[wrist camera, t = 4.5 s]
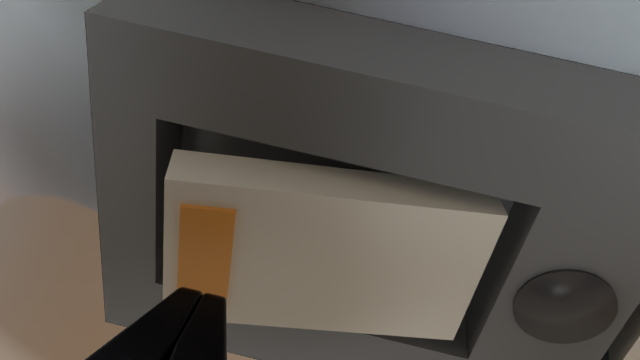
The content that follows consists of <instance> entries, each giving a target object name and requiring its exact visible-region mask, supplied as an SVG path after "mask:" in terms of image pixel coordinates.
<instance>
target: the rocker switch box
mask: <svg viewBox="0 0 640 360" xmlns="http://www.w3.org/2000/svg"><path fill="white" fill-rule="evenodd" d="M84 13H85V28H86V42H87V57H88V72H89V87H90V101H91V116H92V131H93V146H94V160H95V175H96V190H97V205H98V219H99V234H100V249H101V264H102V278H103V291H104V308H105V322H108V323H113V324H116V325H120V326H125V327H128V326H130V325H131V324H132V323H134V322H135V321H136V320H138V319H139V318H140V317H141V316H143V315H144V314H145V313H147V312H148V311H149V310H151V309H152V308H153V307H155V306H156V305H157V304H158V303H160V302H161V301H162V300H163V240H164V179H165V176H166V172H167V169H168V166H169V163H170V159H171V156H172V153H173V150H174V149H178V150H187V151H196V152H205V153H213V154H222V155H231V156H240V157H248V158H257V159H266V160H275V161H284V162H292V163H301V164H310V165H319V166H328V167H336V168H345V169H354V170H363V171H372V172H380V173H389V174H398V175H403V176H407V177H411V178H416V179H420V180H424V181H429V182H433V183H437V184H442V185H446V186H450V187H455V188H459V189H463V190H468V191H472V192H476V193H481V194H485V195H489V196H494V197H498V198H500V200H501V202H502V204H503V206H504V208H505V210H506V212H507V214H508V218H507V220H506V223H505V225H504V227H503V229H502V232H501V234H500V236H499V238H498V241H497V243H496V245H495V247H494V250H493V252H492V254H491V256H490V259H489V261H488V263H487V265H486V268H485V270H484V272H483V274H482V277H481V279H480V281H479V283H478V286H477V288H476V290H475V292H474V295H473V297H472V299H471V301H470V304H469V306H468V308H467V310H466V313H465V315H464V317H463V319H462V321H461V324H460V326H459V328H458V330H457V333H456V335H455V337H454V339H453V340H442V339H429V338H416V337H403V336H390V335H377V334H364V333H351V332H338V331H325V330H312V329H299V328H286V327H273V326H260V325H247V324H234V323H227V352H229V353H233V354H237V355H241V356H246V357H249V358H253V359H257V360H609V355H608V348H609V347H610V345H611V344H612V342H613V341H614V339H615V338H616V337H617V335H618V334H619V332H620V331H621V329H622V328H623V326H624V325H625V323H626V322H627V320H628V319H629V318H630V316H631V315H632V313H633V312H634V310H635V309H636V307H637V306H638V304H639V303H640V76H635V75H631V74H626V73H622V72H617V71H613V70H608V69H603V68H599V67H594V66H590V65H585V64H581V63H576V62H571V61H567V60H562V59H558V58H553V57H549V56H544V55H539V54H535V53H530V52H526V51H521V50H517V49H512V48H507V47H503V46H498V45H494V44H489V43H485V42H480V41H475V40H471V39H466V38H462V37H457V36H452V35H448V34H443V33H439V32H434V31H430V30H425V29H420V28H416V27H411V26H407V25H402V24H398V23H393V22H388V21H384V20H379V19H375V18H370V17H366V16H361V15H356V14H352V13H347V12H343V11H338V10H334V9H329V8H324V7H320V6H315V5H311V4H306V3H302V2H297V1H292V0H103V1H102V2H100V3H98V4H97V5H95V6H93V7H92V8H90V9H88V10H87V11H85V12H84Z"/></svg>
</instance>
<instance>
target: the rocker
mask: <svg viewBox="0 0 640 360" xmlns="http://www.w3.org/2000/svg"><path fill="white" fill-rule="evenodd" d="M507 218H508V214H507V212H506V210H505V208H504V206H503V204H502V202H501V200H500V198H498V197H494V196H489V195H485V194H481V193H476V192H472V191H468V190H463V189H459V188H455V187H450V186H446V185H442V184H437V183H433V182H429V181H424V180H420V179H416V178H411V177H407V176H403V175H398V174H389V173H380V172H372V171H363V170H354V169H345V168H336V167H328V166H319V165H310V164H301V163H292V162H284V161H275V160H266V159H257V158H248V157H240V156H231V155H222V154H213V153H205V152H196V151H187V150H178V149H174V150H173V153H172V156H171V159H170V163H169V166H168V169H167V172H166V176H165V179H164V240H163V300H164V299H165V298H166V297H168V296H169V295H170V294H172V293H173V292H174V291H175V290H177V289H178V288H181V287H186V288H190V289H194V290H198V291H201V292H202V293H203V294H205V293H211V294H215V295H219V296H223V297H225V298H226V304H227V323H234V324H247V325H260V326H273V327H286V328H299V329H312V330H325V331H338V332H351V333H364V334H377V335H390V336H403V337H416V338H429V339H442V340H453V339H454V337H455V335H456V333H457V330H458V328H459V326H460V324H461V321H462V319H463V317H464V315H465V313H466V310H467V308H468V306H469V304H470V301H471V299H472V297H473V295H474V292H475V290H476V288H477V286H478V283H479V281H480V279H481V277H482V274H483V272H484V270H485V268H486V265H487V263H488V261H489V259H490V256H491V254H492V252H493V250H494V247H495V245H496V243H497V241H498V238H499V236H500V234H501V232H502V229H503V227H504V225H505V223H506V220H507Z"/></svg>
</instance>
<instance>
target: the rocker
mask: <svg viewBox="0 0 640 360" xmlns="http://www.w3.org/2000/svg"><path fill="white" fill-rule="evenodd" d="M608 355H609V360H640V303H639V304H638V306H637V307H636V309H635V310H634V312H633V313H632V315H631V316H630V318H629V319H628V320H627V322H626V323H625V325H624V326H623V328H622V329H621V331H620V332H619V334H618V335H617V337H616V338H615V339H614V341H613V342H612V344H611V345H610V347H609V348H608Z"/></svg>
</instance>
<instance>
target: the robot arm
mask: <svg viewBox="0 0 640 360" xmlns="http://www.w3.org/2000/svg"><path fill="white" fill-rule="evenodd" d="M85 360H227V304H226V298H225V297H223V296H219V295H215V294H211V293H205V294H203V293H202V292H201V291H198V290H194V289H190V288H186V287H181V288H178V289H177V290H175V291H174V292H173V293H172V294H170V295H169V296H168V297H166V298H165V299H164V300H162V301H161V302H160V303H158V304H157V305H156V306H155V307H153V308H152V309H151V310H149V311H148V312H147V313H145V314H144V315H143V316H141V317H140V318H139V319H138V320H136V321H135V322H134V323H132V324H131V325H130V326H128V327H127V328H126V329H124V330H123V331H122V332H121V333H119V334H118V335H117V336H115V337H114V338H113V339H112V340H110V341H109V342H107V343H106V344H105V345H103V346H102V347H101V348H100V349H98V350H97V351H96V352H94V353H93V354H92V355H90V356H89V357H88V358H86V359H85Z"/></svg>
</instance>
